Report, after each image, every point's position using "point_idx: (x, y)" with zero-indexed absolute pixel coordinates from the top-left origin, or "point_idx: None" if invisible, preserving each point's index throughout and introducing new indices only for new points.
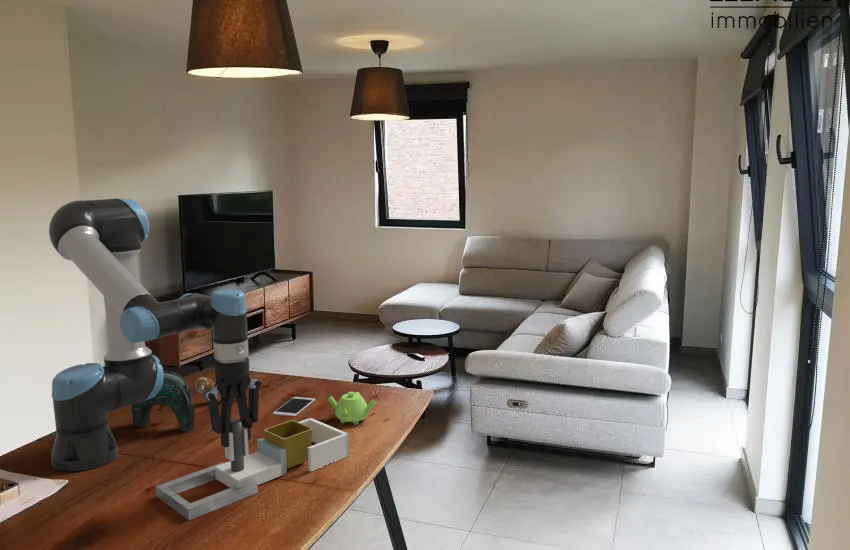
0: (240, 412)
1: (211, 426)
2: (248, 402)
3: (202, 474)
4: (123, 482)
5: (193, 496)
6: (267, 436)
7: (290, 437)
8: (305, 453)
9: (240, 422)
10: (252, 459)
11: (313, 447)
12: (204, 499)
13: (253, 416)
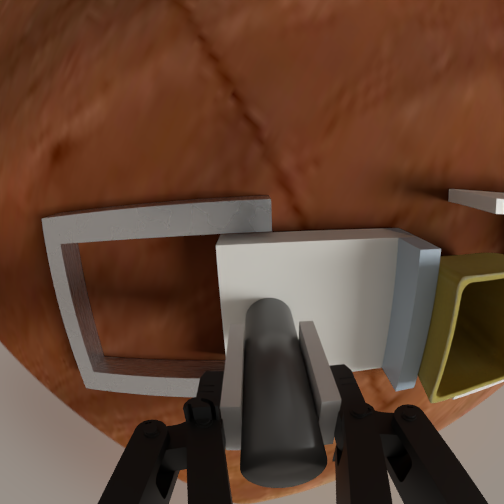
0: (344, 489)
1: (129, 441)
2: (440, 496)
3: (170, 236)
4: (35, 73)
5: (130, 282)
6: (444, 296)
7: (450, 396)
8: (462, 337)
9: (298, 483)
10: (348, 286)
11: (461, 396)
12: (125, 380)
13: (389, 474)
